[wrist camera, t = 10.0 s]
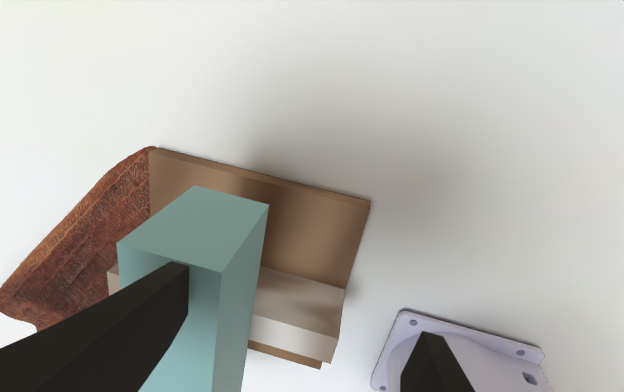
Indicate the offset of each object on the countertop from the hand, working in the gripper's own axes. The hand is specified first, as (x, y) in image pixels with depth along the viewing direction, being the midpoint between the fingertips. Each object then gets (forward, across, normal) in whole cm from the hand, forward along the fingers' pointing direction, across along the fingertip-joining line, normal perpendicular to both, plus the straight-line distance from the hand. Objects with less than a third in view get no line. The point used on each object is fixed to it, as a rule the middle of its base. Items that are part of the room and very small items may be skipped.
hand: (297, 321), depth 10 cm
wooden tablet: (+11, +16, +12) cm, 23 cm away
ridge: (+10, +4, +7) cm, 13 cm away
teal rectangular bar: (+5, +4, +7) cm, 10 cm away
